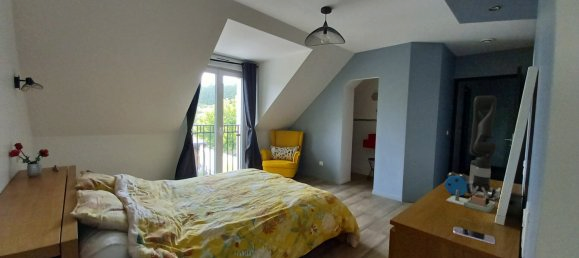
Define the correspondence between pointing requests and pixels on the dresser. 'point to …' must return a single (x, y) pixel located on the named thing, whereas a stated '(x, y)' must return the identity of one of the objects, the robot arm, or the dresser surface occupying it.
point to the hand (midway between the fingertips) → (479, 202)
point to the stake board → (461, 200)
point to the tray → (480, 208)
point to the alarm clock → (456, 183)
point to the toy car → (496, 197)
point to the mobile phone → (474, 235)
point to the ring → (478, 200)
